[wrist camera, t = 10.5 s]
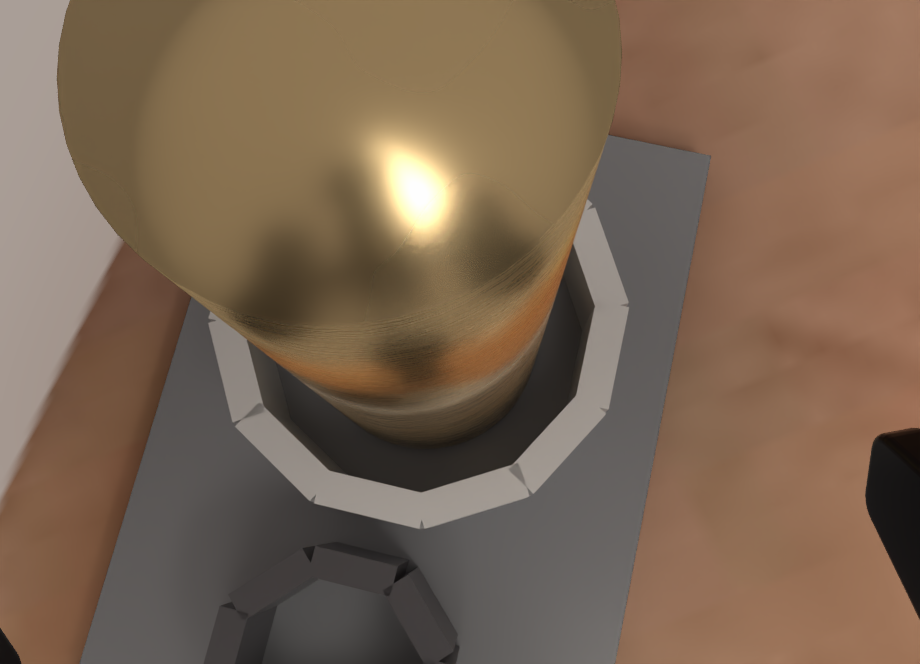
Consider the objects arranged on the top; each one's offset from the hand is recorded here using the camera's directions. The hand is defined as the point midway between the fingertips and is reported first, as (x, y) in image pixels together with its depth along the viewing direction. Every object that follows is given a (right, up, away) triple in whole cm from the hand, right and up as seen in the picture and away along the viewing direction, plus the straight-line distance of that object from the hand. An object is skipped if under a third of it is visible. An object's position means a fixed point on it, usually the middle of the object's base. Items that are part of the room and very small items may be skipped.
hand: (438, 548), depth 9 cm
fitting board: (-1, 0, +12) cm, 12 cm away
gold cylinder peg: (-1, +2, +12) cm, 12 cm away
